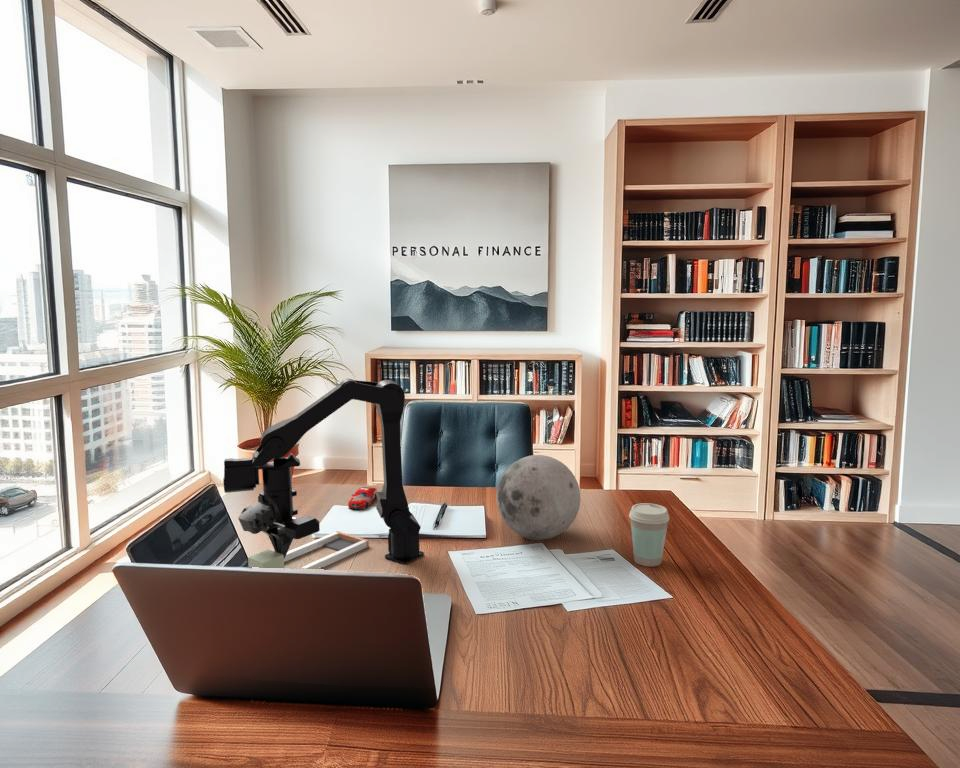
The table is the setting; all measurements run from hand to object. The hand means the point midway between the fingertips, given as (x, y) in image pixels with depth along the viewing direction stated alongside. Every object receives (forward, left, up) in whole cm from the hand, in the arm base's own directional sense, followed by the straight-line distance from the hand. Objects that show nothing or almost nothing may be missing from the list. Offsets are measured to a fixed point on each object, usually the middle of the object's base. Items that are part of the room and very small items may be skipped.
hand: (281, 558), depth 135 cm
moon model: (-35, -48, -3) cm, 59 cm away
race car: (+19, -43, -4) cm, 47 cm away
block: (0, +4, -3) cm, 5 cm away
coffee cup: (-62, -49, -3) cm, 79 cm away
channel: (0, -11, -3) cm, 11 cm away
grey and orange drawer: (0, -17, -3) cm, 18 cm away
